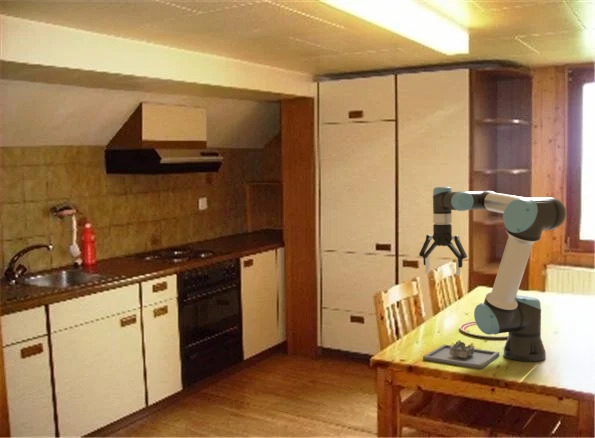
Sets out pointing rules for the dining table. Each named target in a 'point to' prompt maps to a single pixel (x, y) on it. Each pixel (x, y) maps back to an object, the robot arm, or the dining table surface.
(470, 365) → the holder tray
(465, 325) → the striped ring
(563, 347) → the dining table surface
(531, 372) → the dining table surface
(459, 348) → the egg carton
